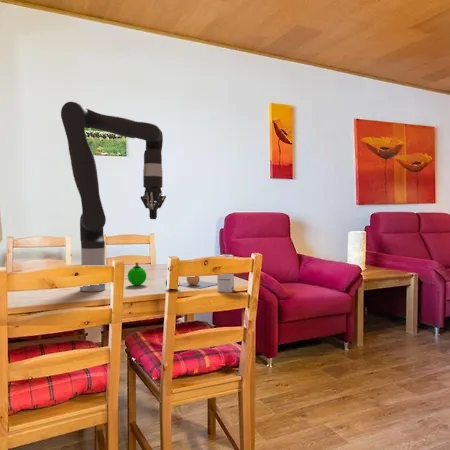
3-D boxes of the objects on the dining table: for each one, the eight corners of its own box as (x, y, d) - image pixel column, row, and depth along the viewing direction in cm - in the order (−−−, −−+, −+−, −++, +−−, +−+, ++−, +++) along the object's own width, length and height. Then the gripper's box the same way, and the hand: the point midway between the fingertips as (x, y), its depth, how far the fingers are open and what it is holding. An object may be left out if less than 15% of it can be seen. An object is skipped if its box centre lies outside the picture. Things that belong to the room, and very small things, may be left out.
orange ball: (194, 267, 182) (199, 276, 186) (183, 274, 182) (188, 283, 185) (197, 275, 178) (203, 283, 181) (186, 281, 178) (192, 290, 181)
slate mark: (199, 288, 174) (199, 288, 174) (175, 285, 183) (175, 284, 183) (220, 284, 185) (220, 283, 185) (196, 280, 194) (196, 280, 194)
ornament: (149, 286, 181) (149, 262, 180) (131, 287, 176) (131, 264, 176) (142, 283, 187) (142, 261, 187) (125, 285, 183) (124, 262, 183)
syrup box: (231, 292, 166) (231, 255, 165) (217, 291, 167) (216, 255, 167) (234, 289, 171) (234, 254, 171) (220, 289, 173) (220, 254, 172)
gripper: (171, 175, 166) (171, 219, 166) (148, 177, 174) (149, 219, 174) (157, 174, 160) (157, 219, 160) (134, 176, 168) (134, 219, 168)
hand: (153, 219), depth 167 cm, fingers closed
